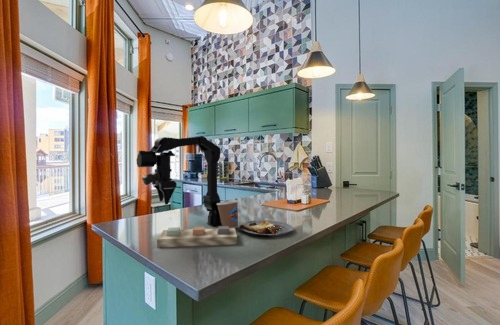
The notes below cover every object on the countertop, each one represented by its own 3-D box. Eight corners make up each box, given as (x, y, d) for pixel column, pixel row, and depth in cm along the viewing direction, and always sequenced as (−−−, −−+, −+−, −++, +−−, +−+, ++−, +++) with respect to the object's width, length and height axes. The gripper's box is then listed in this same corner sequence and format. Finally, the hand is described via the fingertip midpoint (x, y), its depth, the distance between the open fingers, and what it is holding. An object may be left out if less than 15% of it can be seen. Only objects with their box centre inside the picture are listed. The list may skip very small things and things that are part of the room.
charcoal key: (228, 234, 106) (228, 226, 106) (229, 237, 101) (229, 228, 101) (218, 234, 105) (218, 226, 105) (218, 237, 101) (218, 229, 101)
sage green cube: (179, 235, 103) (179, 227, 103) (178, 239, 99) (178, 230, 99) (168, 236, 103) (168, 227, 103) (166, 239, 98) (166, 230, 98)
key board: (234, 234, 110) (234, 228, 110) (236, 244, 98) (236, 236, 98) (163, 237, 106) (163, 230, 106) (156, 247, 94) (156, 239, 94)
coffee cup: (233, 229, 113) (230, 203, 114) (215, 230, 118) (212, 204, 118) (245, 224, 122) (241, 199, 123) (227, 225, 127) (224, 201, 127)
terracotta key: (204, 235, 105) (204, 226, 104) (204, 238, 100) (204, 229, 100) (193, 235, 104) (193, 227, 104) (192, 238, 100) (192, 230, 100)
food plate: (264, 242, 100) (264, 233, 100) (229, 230, 117) (229, 222, 117) (302, 232, 117) (302, 224, 117) (266, 223, 134) (266, 216, 134)
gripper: (139, 166, 112) (140, 201, 112) (147, 168, 96) (148, 208, 97) (165, 165, 118) (165, 198, 118) (176, 167, 102) (177, 205, 103)
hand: (163, 202), depth 109 cm, fingers open, 9 cm apart
